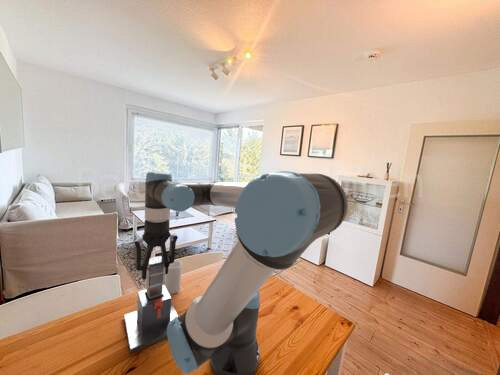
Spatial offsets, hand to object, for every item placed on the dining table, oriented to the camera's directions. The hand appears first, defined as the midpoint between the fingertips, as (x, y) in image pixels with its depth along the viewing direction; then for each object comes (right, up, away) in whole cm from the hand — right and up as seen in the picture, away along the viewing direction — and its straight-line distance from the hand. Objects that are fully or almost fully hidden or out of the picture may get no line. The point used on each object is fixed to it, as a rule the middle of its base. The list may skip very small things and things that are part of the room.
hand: (154, 284), depth 71 cm
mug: (-4, -12, +21) cm, 25 cm away
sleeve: (-1, -15, +2) cm, 15 cm away
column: (-1, -13, +2) cm, 13 cm away
